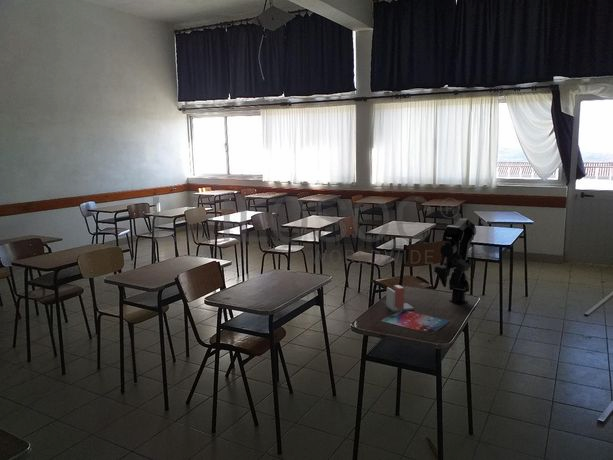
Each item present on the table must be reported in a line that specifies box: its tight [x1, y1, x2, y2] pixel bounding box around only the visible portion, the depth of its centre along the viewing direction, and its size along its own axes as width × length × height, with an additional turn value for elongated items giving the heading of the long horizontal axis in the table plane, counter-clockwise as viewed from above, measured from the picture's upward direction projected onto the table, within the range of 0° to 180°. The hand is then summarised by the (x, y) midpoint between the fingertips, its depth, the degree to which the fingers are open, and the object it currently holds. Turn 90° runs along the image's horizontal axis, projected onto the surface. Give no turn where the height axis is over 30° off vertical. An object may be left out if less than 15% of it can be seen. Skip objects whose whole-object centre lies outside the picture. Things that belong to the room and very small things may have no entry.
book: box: [392, 284, 405, 309], centre depth 228 cm, size 3×5×10 cm, turn 17°
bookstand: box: [385, 287, 415, 313], centre depth 229 cm, size 11×7×10 cm, turn 106°
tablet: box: [380, 310, 450, 336], centre depth 213 cm, size 19×25×1 cm
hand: (450, 285), depth 223 cm, fingers open, 9 cm apart
